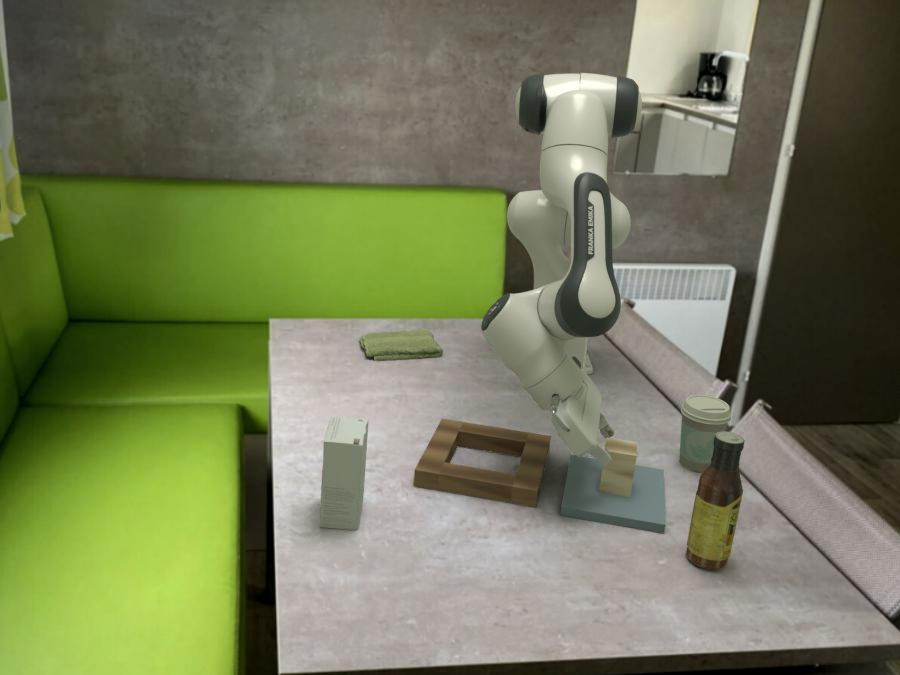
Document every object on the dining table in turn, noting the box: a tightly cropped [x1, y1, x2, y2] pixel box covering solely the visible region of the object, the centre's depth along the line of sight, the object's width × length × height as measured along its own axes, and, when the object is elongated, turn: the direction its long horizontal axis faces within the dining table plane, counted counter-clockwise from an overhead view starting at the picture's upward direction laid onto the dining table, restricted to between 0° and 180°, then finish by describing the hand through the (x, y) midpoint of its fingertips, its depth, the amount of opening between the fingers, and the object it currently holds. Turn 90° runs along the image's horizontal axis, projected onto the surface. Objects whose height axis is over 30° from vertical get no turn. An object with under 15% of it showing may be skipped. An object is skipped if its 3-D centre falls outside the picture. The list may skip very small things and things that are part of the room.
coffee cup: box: [678, 394, 732, 473], centre depth 154 cm, size 9×9×12 cm
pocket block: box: [413, 417, 552, 508], centre depth 148 cm, size 20×20×3 cm
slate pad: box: [559, 454, 666, 534], centre depth 143 cm, size 18×16×2 cm
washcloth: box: [359, 328, 444, 362], centre depth 197 cm, size 13×18×3 cm
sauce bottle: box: [685, 430, 745, 571], centre depth 125 cm, size 7×6×20 cm
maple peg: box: [599, 437, 638, 497], centre depth 142 cm, size 5×5×8 cm
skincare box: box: [319, 415, 369, 531], centre depth 129 cm, size 8×6×15 cm
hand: (609, 448), depth 141 cm, fingers open, 8 cm apart
